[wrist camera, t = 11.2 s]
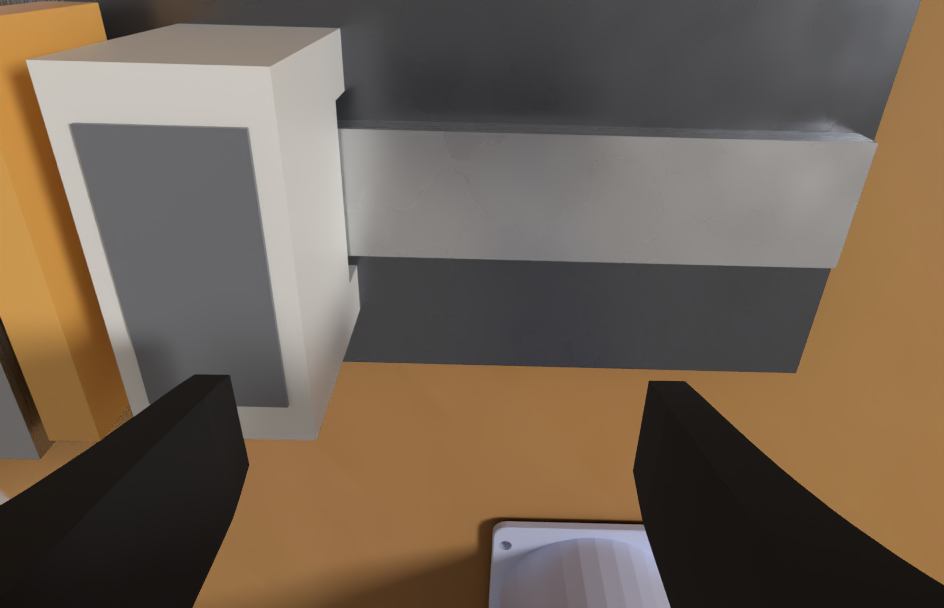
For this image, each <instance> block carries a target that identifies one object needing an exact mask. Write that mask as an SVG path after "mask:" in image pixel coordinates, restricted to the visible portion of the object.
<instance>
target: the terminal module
mask: <svg viewBox="0 0 944 608" xmlns="http://www.w3.org/2000/svg"><path fill="white" fill-rule="evenodd" d="M26 63H27V66H28V69H29V73H30V76H31V79H32V83H33V86H34V89H35V93H36V96H37V99H38V103H39V106H40V109H41V113H42V116H43V119H44V122H45V126H46V129H47V132H48V136H49V139H50V142H51V146H52V149H53V152H54V156H55V159H56V162H57V166H58V169H59V172H60V175H61V179H62V182H63V185H64V189H65V192H66V195H67V199H68V202H69V205H70V209H71V212H72V215H73V219H74V222H75V225H76V229H77V232H78V235H79V238H80V242H81V245H82V248H83V252H84V255H85V258H86V262H87V265H88V268H89V272H90V275H91V278H92V282H93V285H94V288H95V291H96V295H97V298H98V301H99V305H100V308H101V311H102V315H103V318H104V321H105V325H106V328H107V331H108V335H109V338H110V341H111V344H112V348H113V351H114V354H115V358H116V361H117V364H118V368H119V371H120V374H121V378H122V381H123V384H124V388H125V391H126V394H127V398H128V401H129V404H130V407H131V411H132V414H133V417H134V416H136V415H137V414H138V413H140V412H141V411H142V410H144V409H145V408H147V407H148V406H149V405H151V404H152V403H154V402H155V401H156V400H158V399H159V398H160V397H162V396H163V395H165V394H166V393H167V392H169V391H170V390H172V389H173V388H175V387H176V386H177V385H179V384H180V383H182V382H183V381H185V380H187V379H188V378H190V377H191V376H193V375H194V374H210V375H230V378H231V382H232V387H233V392H234V396H235V401H236V406H237V410H238V415H239V420H240V424H241V429H242V434H243V438H244V439H276V440H315V441H316V440H317V437H318V434H319V431H320V428H321V425H322V422H323V419H324V416H325V413H326V410H327V407H328V404H329V401H330V398H331V395H332V392H333V389H334V386H335V383H336V380H337V377H338V374H339V371H340V368H341V365H342V362H343V359H344V356H345V353H346V350H347V347H348V344H349V341H350V338H351V335H352V332H353V329H354V326H355V323H356V320H357V317H358V314H359V311H360V301H359V287H358V273H357V265H348V255H347V243H346V230H345V217H344V204H343V192H342V179H341V166H340V153H339V140H338V128H337V115H336V102H335V100H336V99H337V98H338V97H339V96H340V95H341V94H342V93H343V92H344V91H345V90H344V76H343V61H342V47H341V33H340V28H318V27H282V26H247V25H212V24H174V25H170V26H166V27H162V28H157V29H153V30H149V31H145V32H141V33H136V34H132V35H128V36H124V37H119V38H115V39H111V40H107V41H103V42H98V43H94V44H90V45H86V46H82V47H77V48H73V49H69V50H65V51H61V52H56V53H52V54H48V55H44V56H40V57H35V58H31V59H27V60H26Z"/></svg>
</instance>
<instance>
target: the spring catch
mask: <svg viewBox="0 0 944 608" xmlns="http://www.w3.org/2000/svg"><path fill="white" fill-rule="evenodd" d="M103 41H107V38H106V34H105V29H104V25H103V21H102V17H101V13H100V9H99V4H98V2H62V1H40V2H32V3H23V4H14V5H5V6H0V317H1V319H2V322H3V324H4V327H5V329H6V332H7V335H8V337H9V340H10V342H11V345H12V347H13V350H14V352H15V355H16V357H17V360H18V362H19V365H20V367H21V370H22V372H23V375H24V378H25V380H26V383H27V385H28V388H29V390H30V393H31V395H32V398H33V400H34V403H35V405H36V408H37V410H38V413H39V416H40V418H41V421H42V423H43V426H44V428H45V431H46V433H47V436H48V438H49V441H87V442H99V441H100V440H102V439H103V438H104V437H105V436H106V435H107V433H108V432H109V431H110V429H111V428H112V427H113V425H114V424H115V423H116V422H117V420H118V419H119V418H120V416H121V415H122V414H123V413H124V411H125V410H126V409H127V407H128V406H129V405H130V404H129V401H128V398H127V394H126V391H125V388H124V384H123V381H122V378H121V374H120V371H119V368H118V364H117V361H116V358H115V354H114V351H113V348H112V344H111V341H110V338H109V335H108V331H107V328H106V325H105V321H104V318H103V315H102V311H101V308H100V305H99V301H98V298H97V295H96V291H95V288H94V285H93V282H92V278H91V275H90V272H89V268H88V265H87V262H86V258H85V255H84V252H83V248H82V245H81V242H80V238H79V235H78V232H77V229H76V225H75V222H74V219H73V215H72V212H71V209H70V205H69V202H68V199H67V195H66V192H65V189H64V185H63V182H62V179H61V175H60V172H59V169H58V166H57V162H56V159H55V156H54V152H53V149H52V146H51V142H50V139H49V136H48V132H47V129H46V126H45V122H44V119H43V116H42V113H41V109H40V106H39V103H38V99H37V96H36V93H35V89H34V86H33V83H32V79H31V76H30V73H29V69H28V66H27V63H26V60H27V59H31V58H35V57H40V56H44V55H48V54H52V53H56V52H61V51H65V50H69V49H73V48H77V47H82V46H86V45H90V44H94V43H98V42H103Z"/></svg>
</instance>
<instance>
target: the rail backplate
mask: <svg viewBox="0 0 944 608" xmlns="http://www.w3.org/2000/svg"><path fill="white" fill-rule="evenodd" d="M40 1H62V2H98V4H99V9H100V13H101V17H102V21H103V25H104V29H105V34H106V38H107V40H111V39H115V38H119V37H124V36H128V35H132V34H136V33H141V32H145V31H149V30H153V29H157V28H162V27H166V26H170V25H174V24H212V25H247V26H282V27H318V28H340V33H341V47H342V61H343V76H344V90H345V91H344V92H343V93H342V94H341V95H340V96H339V97H338V98H337V99H336V100H335V102H336V115H337V128H338V140H339V153H340V166H341V179H342V192H343V204H344V217H345V230H346V243H347V255H348V265H357V273H358V287H359V301H360V311H359V314H358V317H357V320H356V323H355V326H354V329H353V332H352V335H351V338H350V341H349V344H348V347H347V350H346V353H345V356H344V359H343V361H344V362H383V363H423V364H462V365H502V366H541V367H580V368H620V369H659V370H698V371H738V372H777V373H796V371H797V368H798V365H799V362H800V359H801V356H802V353H803V350H804V347H805V344H806V341H807V338H808V335H809V333H810V330H811V327H812V324H813V321H814V318H815V315H816V312H817V309H818V306H819V303H820V300H821V297H822V294H823V291H824V288H825V285H826V282H827V279H828V276H829V273H830V270H831V268H836V266H837V263H838V260H839V257H840V254H841V251H842V249H843V246H844V243H845V240H846V237H847V234H848V231H849V228H850V225H851V222H852V219H853V216H854V213H855V210H856V207H857V204H858V201H859V198H860V196H861V193H862V190H863V187H864V184H865V181H866V178H867V175H868V172H869V169H870V166H871V163H872V160H873V157H874V154H875V151H876V148H877V145H878V143H877V142H875V141H874V139H875V136H876V133H877V130H878V127H879V124H880V121H881V118H882V115H883V112H884V109H885V106H886V103H887V100H888V97H889V94H890V91H891V88H892V85H893V82H894V79H895V76H896V73H897V70H898V67H899V64H900V61H901V58H902V55H903V52H904V49H905V46H906V43H907V40H908V37H909V35H910V32H911V29H912V26H913V23H914V20H915V17H916V14H917V11H918V8H919V5H920V2H921V0H0V6H5V5H14V4H23V3H32V2H40ZM55 442H56V441H49V438H48V436H47V433H46V431H45V428H44V426H43V423H42V421H41V418H40V416H39V413H38V410H37V408H36V405H35V403H34V400H33V398H32V395H31V393H30V390H29V388H28V385H27V383H26V380H25V378H24V375H23V372H22V370H21V367H20V365H19V362H18V360H17V357H16V355H15V352H14V350H13V347H12V345H11V342H10V340H9V337H8V335H7V332H6V329H5V327H4V324H3V322H2V319H1V317H0V458H5V459H41V458H42V457H43V456H44V454H45V453H46V452H47V451H48V450H49V449H50V447H51V446H52V445H53V444H54V443H55Z"/></svg>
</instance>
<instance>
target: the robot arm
mask: <svg viewBox="0 0 944 608" xmlns="http://www.w3.org/2000/svg"><path fill="white" fill-rule="evenodd" d="M248 467H249V462H248V457H247V452H246V448H245V443H244V438H243V434H242V429H241V424H240V420H239V415H238V410H237V406H236V401H235V396H234V392H233V387H232V382H231V378H230V375H210V374H194V375H193V376H191V377H190V378H188V379H187V380H185V381H183V382H182V383H180V384H179V385H177V386H176V387H175V388H173V389H172V390H170V391H169V392H167V393H166V394H165V395H163V396H162V397H160V398H159V399H158V400H156V401H155V402H154V403H152V404H151V405H149V406H148V407H147V408H145V409H144V410H142V411H141V412H140V413H138V414H137V415H136V416H134V417H133V418H131V419H130V420H129V421H127V422H126V423H124V424H123V425H121V426H120V427H119V428H117V429H116V430H114V431H113V432H112V433H110V434H109V435H107V436H106V437H105V438H103V439H102V440H100V441H99V442H98V443H96V444H95V445H93V446H92V447H90V448H89V449H88V450H86V451H84V452H83V453H81V454H80V455H78V456H77V457H75V458H74V459H72V460H71V461H69V462H68V463H66V464H65V465H63V466H62V467H60V468H59V469H57V470H56V471H54V472H53V473H51V474H49V475H48V476H46V477H45V478H43V479H42V480H40V481H39V482H37V483H36V484H34V485H33V486H31V487H30V488H28V489H27V490H25V491H23V492H22V493H20V494H18V495H17V496H15V497H14V498H12V499H10V500H9V501H7V502H5V503H4V504H2V505H0V608H192V607H193V605H194V603H195V601H196V598H197V596H198V594H199V592H200V590H201V588H202V585H203V583H204V581H205V579H206V577H207V575H208V572H209V570H210V568H211V566H212V564H213V562H214V559H215V557H216V555H217V553H218V551H219V548H220V546H221V544H222V542H223V540H224V537H225V535H226V533H227V531H228V528H229V526H230V524H231V521H232V519H233V516H234V513H235V510H236V507H237V504H238V501H239V498H240V495H241V491H242V488H243V484H244V481H245V478H246V474H247V471H248ZM633 473H634V478H635V484H636V489H637V495H638V500H639V505H640V510H641V515H642V520H643V524H644V525H641V524H600V523H559V522H518V521H503V522H500V523H497V524H496V525H495V526H494V528H493V537H492V555H491V572H490V589H489V606H488V608H944V585H943V584H941V583H939V582H938V581H936V580H934V579H933V578H931V577H929V576H928V575H926V574H925V573H923V572H922V571H920V570H918V569H917V568H915V567H914V566H912V565H911V564H909V563H908V562H906V561H905V560H903V559H901V558H900V557H898V556H897V555H895V554H894V553H893V552H891V551H890V550H888V549H887V548H885V547H884V546H882V545H881V544H880V543H878V542H877V541H875V540H874V539H872V538H871V537H870V536H868V535H867V534H865V533H864V532H862V531H861V530H859V529H858V528H857V527H855V526H854V525H852V524H851V523H850V522H848V521H847V520H846V519H844V518H843V517H842V516H840V515H839V514H837V513H836V512H835V511H833V510H832V509H831V508H829V507H828V506H827V505H826V504H824V503H823V502H822V501H821V500H819V499H818V498H817V497H816V496H814V495H813V494H812V493H811V492H809V491H808V490H807V489H806V488H804V487H803V486H802V485H801V484H799V483H798V482H797V481H796V480H794V479H793V478H792V477H791V476H790V475H788V474H787V473H786V472H785V471H784V470H782V469H781V468H780V467H779V466H778V465H777V464H775V463H774V462H773V461H772V460H771V459H770V458H768V457H767V456H766V455H765V454H764V453H763V452H762V451H760V450H759V449H758V448H757V447H756V446H755V445H754V444H753V443H751V442H750V441H749V440H748V439H747V438H746V437H745V436H744V435H743V434H742V433H740V432H739V431H738V430H737V429H736V428H735V427H734V426H733V425H732V424H731V423H730V422H729V421H727V420H726V419H725V418H724V417H723V416H722V415H721V414H720V413H719V412H718V411H717V410H716V409H715V408H714V407H712V406H711V405H710V404H709V403H708V402H707V401H706V400H705V399H704V398H703V397H702V396H701V395H700V394H699V393H697V392H696V391H695V390H694V389H693V388H692V387H691V386H690V385H689V384H687V383H686V382H685V381H649V384H648V389H647V395H646V401H645V406H644V412H643V418H642V423H641V429H640V435H639V440H638V446H637V451H636V457H635V463H634V468H633ZM503 541H507V542H503Z"/></svg>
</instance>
